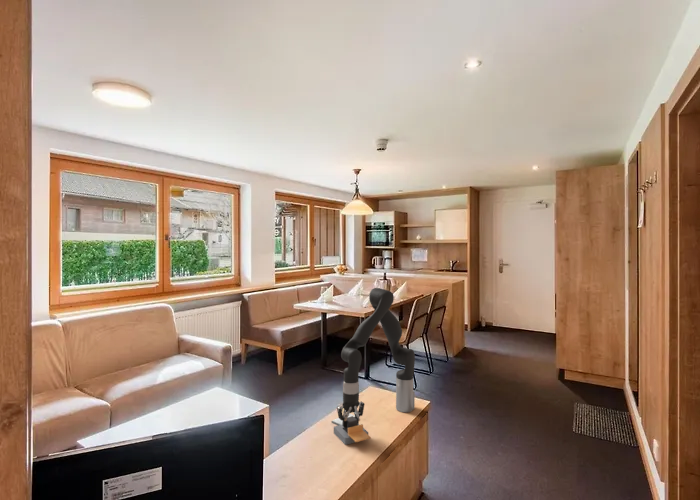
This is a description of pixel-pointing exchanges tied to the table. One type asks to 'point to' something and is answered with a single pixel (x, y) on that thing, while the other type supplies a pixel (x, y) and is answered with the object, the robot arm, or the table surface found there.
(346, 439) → the socket
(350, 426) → the plug
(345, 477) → the table surface
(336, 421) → the hard drive
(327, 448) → the table surface
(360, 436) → the panel
